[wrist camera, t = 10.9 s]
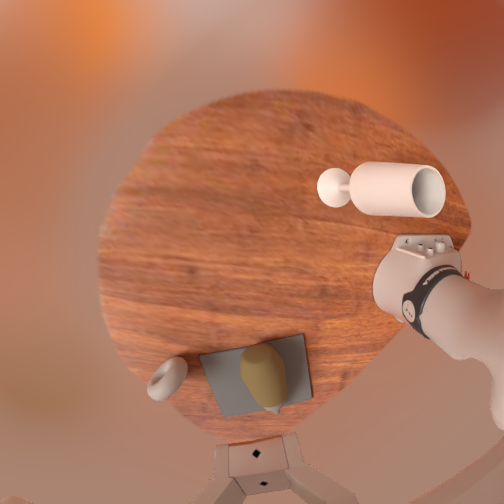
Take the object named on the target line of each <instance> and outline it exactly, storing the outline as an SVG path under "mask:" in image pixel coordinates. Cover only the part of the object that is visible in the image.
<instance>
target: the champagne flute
mask: <svg viewBox="0 0 504 504" xmlns="http://www.w3.org/2000/svg"><path fill="white" fill-rule="evenodd" d="M317 190H318V194H319V196H320V198H321V200H322V201H323V202H324V203H325V204H327V205H328V206H331V207H341V206H343V205H345V204H347V203H348V202H349V200H350V199H352V202H353V203H354V205H355V206H356V207H357V208H358V209H359V210H360V211H362V212H363V213H365V214H368V215H378V216H405V217H425V218H431V217H434V216H435V215H437V214H438V213H439V212H440V211H441V209H442V207H443V205H444V201H445V195H446V191H445V184H444V181H443V178H442V176H441V175H440V173H439V172H438V171H437V170H436V169H435V168H434V167H432V166H428V165H418V164H405V163H389V162H365V163H363V164H361V165H360V166H358V167H357V168H356V169H355V170H354V171H353V173H352V175H351V177H350V176H349V175H348V174H347V173H346V172H345V171H344V170H341V169H338V168H331V169H328V170H326V171H325V172H323V173H322V175H321V176H320V178H319V180H318V185H317Z"/></svg>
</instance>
